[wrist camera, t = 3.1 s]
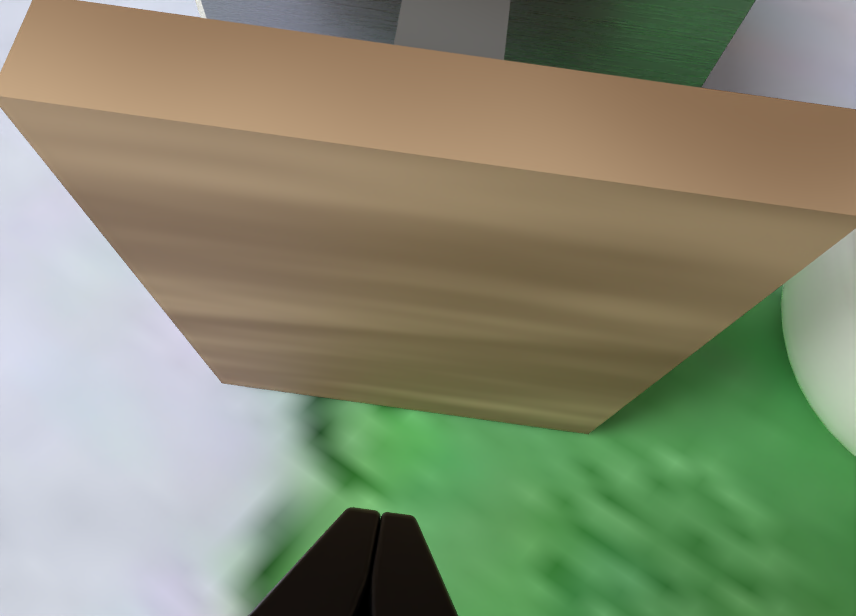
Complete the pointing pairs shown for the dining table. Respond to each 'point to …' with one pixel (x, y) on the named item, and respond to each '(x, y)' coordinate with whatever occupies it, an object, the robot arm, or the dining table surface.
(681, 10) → the grey notched block
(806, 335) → the lidded jar
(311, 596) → the robot arm
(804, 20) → the dining table surface
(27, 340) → the dining table surface
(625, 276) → the wooden slab
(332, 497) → the dining table surface
